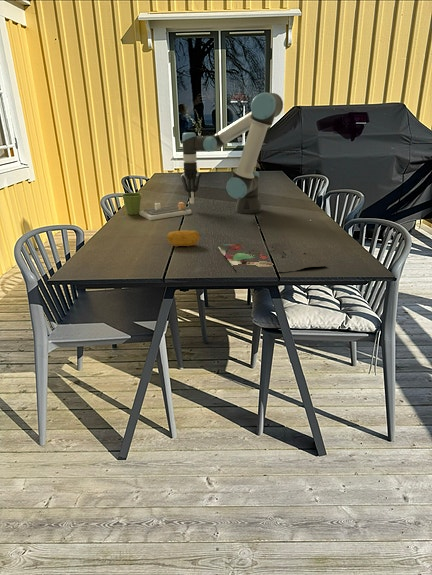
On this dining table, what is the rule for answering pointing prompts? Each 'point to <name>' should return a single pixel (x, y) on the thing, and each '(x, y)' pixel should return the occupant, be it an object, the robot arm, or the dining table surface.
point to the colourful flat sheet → (241, 256)
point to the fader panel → (163, 212)
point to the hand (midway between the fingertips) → (191, 203)
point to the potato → (183, 238)
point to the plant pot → (132, 202)
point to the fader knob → (181, 205)
